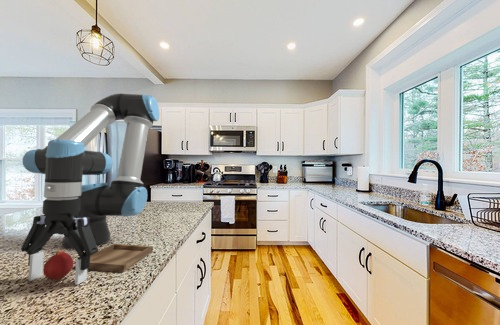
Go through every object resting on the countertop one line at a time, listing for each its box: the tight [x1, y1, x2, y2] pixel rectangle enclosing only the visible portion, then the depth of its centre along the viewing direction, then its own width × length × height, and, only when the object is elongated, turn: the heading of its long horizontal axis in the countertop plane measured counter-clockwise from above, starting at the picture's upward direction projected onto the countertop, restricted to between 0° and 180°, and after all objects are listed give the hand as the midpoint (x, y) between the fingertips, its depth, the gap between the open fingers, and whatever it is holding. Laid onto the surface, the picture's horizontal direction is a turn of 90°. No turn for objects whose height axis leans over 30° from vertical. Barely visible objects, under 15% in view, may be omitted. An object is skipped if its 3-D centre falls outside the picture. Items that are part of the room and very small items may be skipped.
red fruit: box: [42, 249, 74, 282], centre depth 55 cm, size 6×6×8 cm
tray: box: [87, 243, 154, 273], centre depth 68 cm, size 15×15×2 cm
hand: (57, 280), depth 55 cm, fingers open, 12 cm apart
